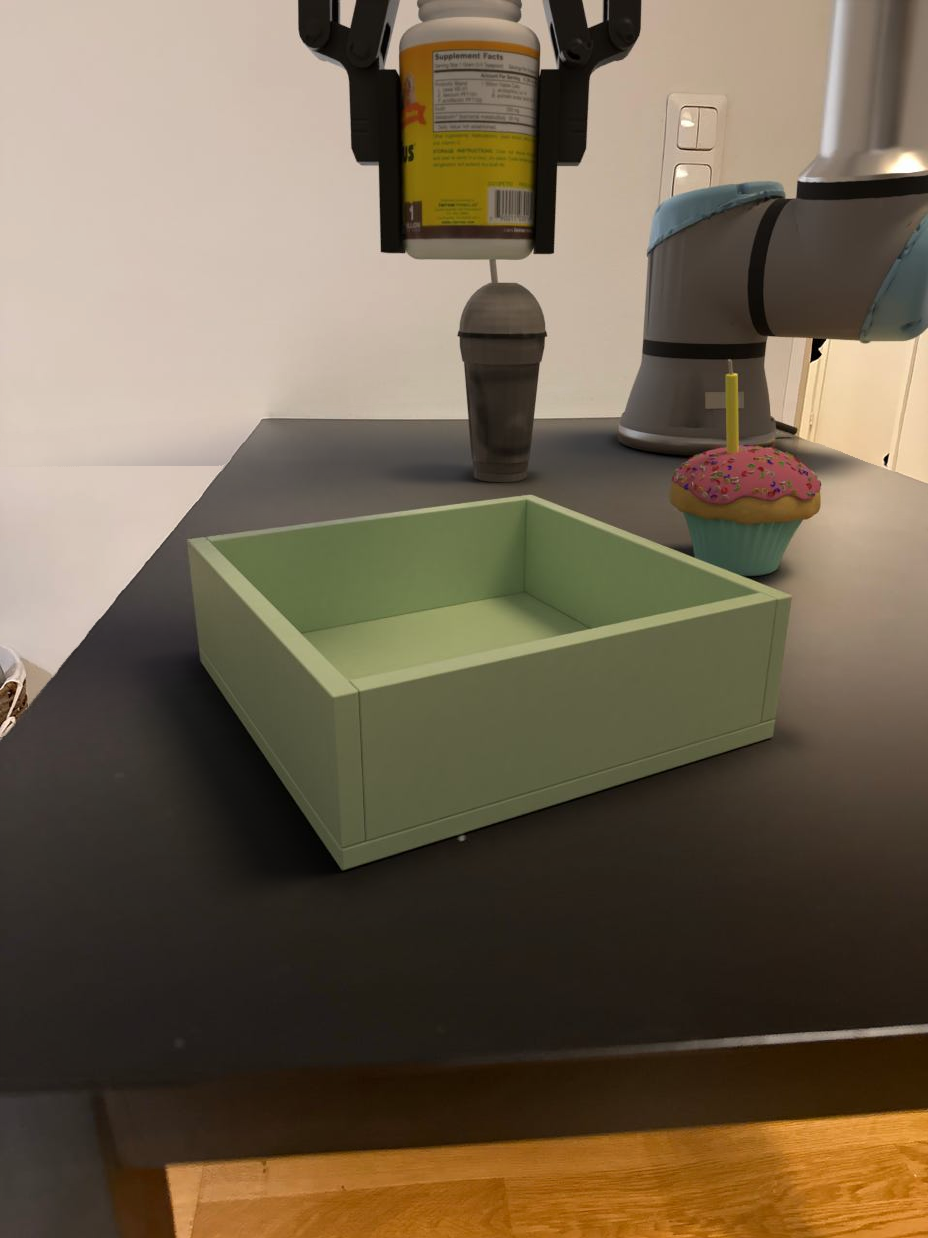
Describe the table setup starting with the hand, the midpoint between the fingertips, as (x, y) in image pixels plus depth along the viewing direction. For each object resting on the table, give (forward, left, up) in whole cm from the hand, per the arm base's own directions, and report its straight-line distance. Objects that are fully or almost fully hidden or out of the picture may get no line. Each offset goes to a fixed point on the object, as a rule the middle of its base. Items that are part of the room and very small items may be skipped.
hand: (468, 251), depth 39 cm
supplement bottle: (0, 0, -1) cm, 1 cm away
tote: (+3, +6, -17) cm, 19 cm away
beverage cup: (-20, -30, -18) cm, 40 cm away
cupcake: (-20, -2, -18) cm, 26 cm away
